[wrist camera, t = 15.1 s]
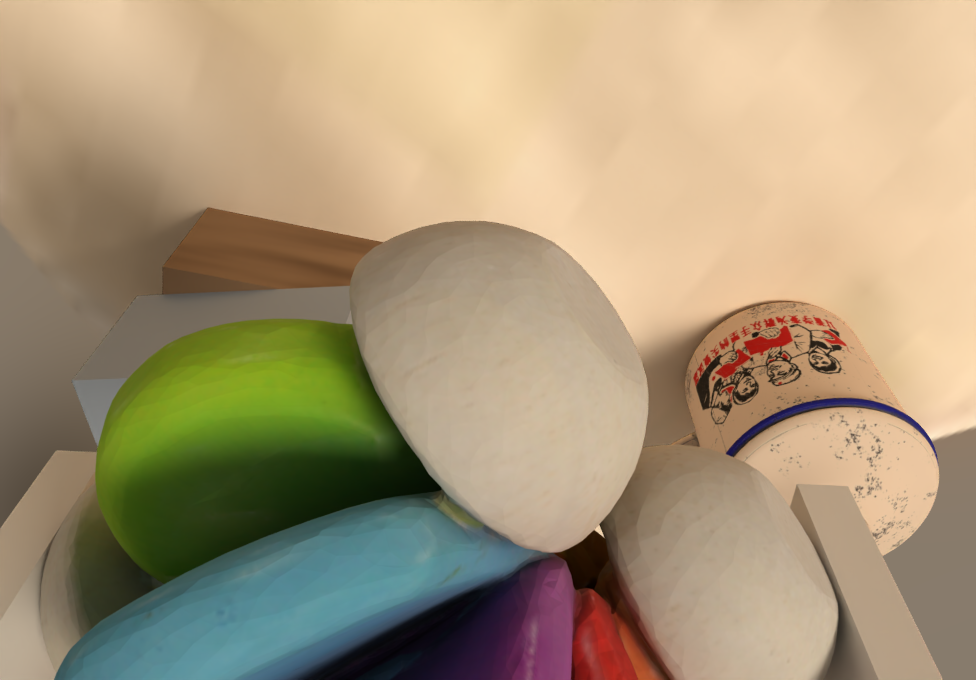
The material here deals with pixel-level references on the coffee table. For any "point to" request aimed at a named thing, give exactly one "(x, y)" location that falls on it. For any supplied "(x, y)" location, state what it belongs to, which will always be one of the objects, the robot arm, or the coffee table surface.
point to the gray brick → (188, 332)
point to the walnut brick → (259, 256)
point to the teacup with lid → (811, 414)
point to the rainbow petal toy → (425, 499)
